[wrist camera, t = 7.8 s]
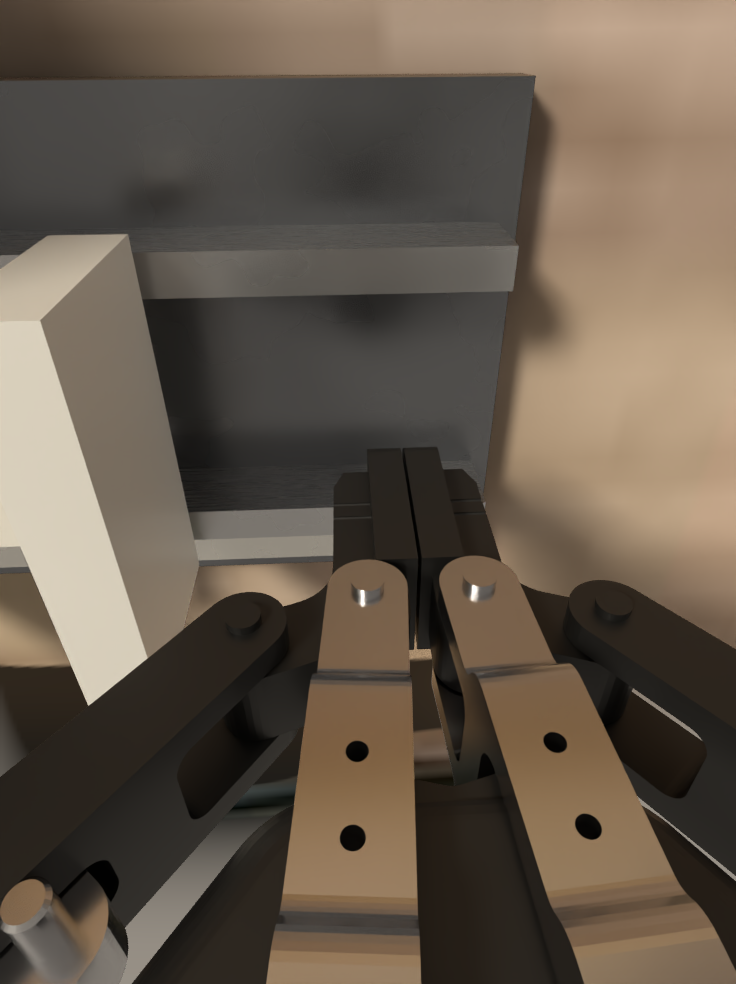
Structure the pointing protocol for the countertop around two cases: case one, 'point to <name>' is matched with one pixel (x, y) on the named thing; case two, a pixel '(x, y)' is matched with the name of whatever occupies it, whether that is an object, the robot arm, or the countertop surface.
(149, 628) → the cream t-shaped handle
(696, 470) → the countertop surface
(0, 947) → the robot arm
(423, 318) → the frame
